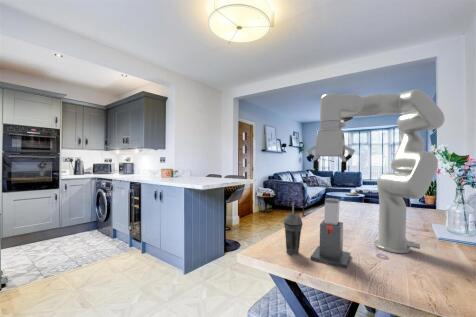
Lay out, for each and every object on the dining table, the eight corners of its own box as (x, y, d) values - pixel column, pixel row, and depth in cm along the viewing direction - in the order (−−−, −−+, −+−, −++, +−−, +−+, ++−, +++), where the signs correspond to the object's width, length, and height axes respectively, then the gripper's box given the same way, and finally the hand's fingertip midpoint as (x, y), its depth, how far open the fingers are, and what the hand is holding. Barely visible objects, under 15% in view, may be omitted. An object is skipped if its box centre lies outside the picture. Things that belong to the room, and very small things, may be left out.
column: (338, 253, 88) (339, 199, 87) (336, 257, 84) (337, 201, 84) (325, 250, 90) (327, 197, 90) (323, 254, 86) (324, 199, 86)
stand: (350, 255, 89) (351, 222, 89) (346, 268, 79) (347, 230, 78) (318, 248, 95) (318, 217, 95) (310, 259, 85) (311, 224, 85)
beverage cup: (302, 250, 93) (303, 200, 93) (301, 257, 87) (302, 204, 86) (284, 247, 96) (285, 199, 96) (281, 254, 89) (282, 202, 89)
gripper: (356, 126, 87) (355, 172, 87) (310, 129, 96) (309, 170, 97) (353, 124, 80) (352, 173, 81) (304, 127, 90) (303, 171, 90)
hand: (329, 171), depth 89 cm, fingers open, 9 cm apart
